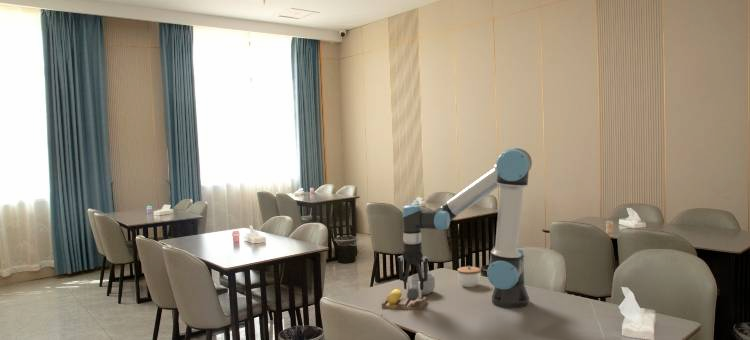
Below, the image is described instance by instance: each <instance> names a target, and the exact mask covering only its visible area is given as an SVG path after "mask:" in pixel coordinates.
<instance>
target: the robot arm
mask: <svg viewBox="0 0 750 340" xmlns="http://www.w3.org/2000/svg"><path fill="white" fill-rule="evenodd" d="M532 164H533V163H532V158H531V156H530V154H529V153H528V152H527V151H526V150H524V149H522V148H518V147H517V148H509V149H506V150H504V151H503V152H501V153H500V155H499V156H498V158H497V160H496V163H495V164H494V168H492V169H490V170H489V171H488V172H487V173H485V174H484V175H482V176H481V177H479V178H478V179H477V180H475V181H474V182H473V183H471V184H470V185H468V186H467V187H465V188H463V190H462V191H460V192H459V193H456V195H454V196H453V197H451V198H450V199H449V200H447V201H446V202H444V203H443V204H442V205H440V206H439V207H437V208H435V209H433V210H423V209H421V206H420V205H418V204H417V205H416V204H410V205H409V204H408V205H405V206H403V207H402V215H401V218H402V239H403V240H402V241H403V254H402V255H400V256H399V255H398V256H397V258H396V261H397V263H398V275H399V276H398V277H399V281H402V282H403V289H404V290H406V295H407V294H408V292H409V290H410V288H411V287H410V280H409V273H410V270H411V265H415V268H416V271H417V273H418V276H419V280H420V281H419V282H418V293H419V295H418V299H422V295H421V290H423V288H424V283H423V282H425V281H427V279H428V273H429V268H428V265H429V260H430V257H429V256H425V255H423V252H422V251H423V249H422V246H423V245H422V229H424V230H425V229H426V230H439V231H441V230H448V229H449V228H450V225H451V221H452V220H454V219H455V218H457V217H458V216H459V215H461V214H462V213H464V212H465V211H466V210H468V209H469V208H471V207H472V206H474V205H475V204H477V203H478V202H479V201H481V200H482V199H484V198H485V197H486V196H489V195H490V194H491V193H493V192H494V191H495V190H497V189H498V188H499V196H498V197H499V198H498V210H497V220H496V232H495V233H496V234H495V245H494V248H492V249H491V250H490V254H489V255H490V256H489V257H490V258H489V266H488V268H487V270H486V271H487V272H486V275H487V276H486V277H487V279H488V282H489V283H490V284H491V285H492V286H493V287H494V288H493V292H492V295H491V303H492V304H493V305H494V306H497V307H500V308H507V309H517V308H518V309H519V308H523V307H524V308H525V307H527V306H529V305H530V297H529V294H528V291H527V288H526V285H525V265H524V264H525V262H524V261H525V259H524V257H525V254H524V250H523V249H522V248H519V241H520V240H519V238H520V229H521V217H522V216H521V215H522V205H523V195H524V194H523V192H524V189H526V188H527V187H528V183H529V172H530V170H531V168H532ZM403 261H405V262H406V265H405V271H404V264H403V263H404V262H403ZM421 261H422V262H423V272H422V269H421V263H420V262H421ZM422 273H424V278H423V275H422ZM407 298H408V297H407Z"/></svg>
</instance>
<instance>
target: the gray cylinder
mask: <svg viewBox="0 0 750 340" xmlns="http://www.w3.org/2000/svg"><path fill="white" fill-rule="evenodd" d="M418 295H419V293H418V285H413V286H412V285H411V287H410V290H409V292H408V294H407V293H406V296H407V297H408V299H409V300H411V301H414V300H416V299H418V298H419V296H418Z"/></svg>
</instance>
